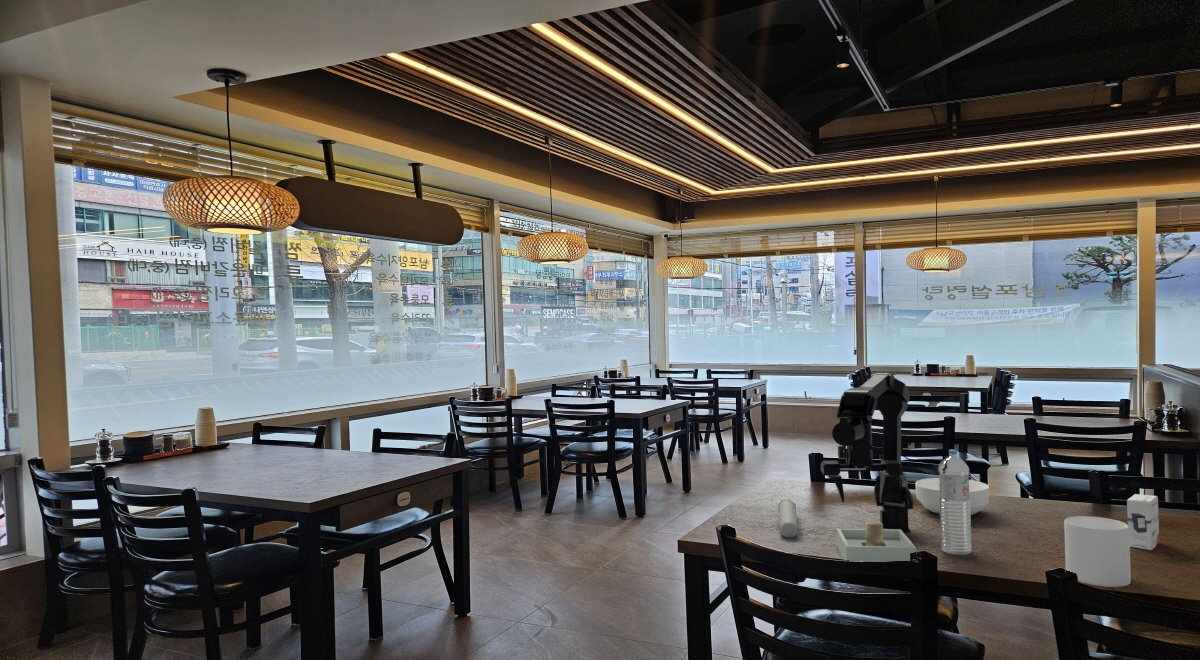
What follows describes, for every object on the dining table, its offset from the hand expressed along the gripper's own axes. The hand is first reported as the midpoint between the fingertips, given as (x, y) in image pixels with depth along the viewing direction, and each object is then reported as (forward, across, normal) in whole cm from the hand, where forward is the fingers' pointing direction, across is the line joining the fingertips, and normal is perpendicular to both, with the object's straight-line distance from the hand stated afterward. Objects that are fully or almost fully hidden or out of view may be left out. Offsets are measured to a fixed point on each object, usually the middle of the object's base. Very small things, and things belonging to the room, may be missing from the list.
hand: (862, 502), depth 184 cm
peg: (+12, -2, +4) cm, 13 cm away
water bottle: (+13, -22, 0) cm, 25 cm away
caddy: (+12, -2, +4) cm, 13 cm away
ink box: (+13, -68, -8) cm, 70 cm away
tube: (+13, +16, -22) cm, 30 cm away
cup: (+13, -46, +17) cm, 50 cm away
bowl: (+13, -33, -39) cm, 53 cm away
